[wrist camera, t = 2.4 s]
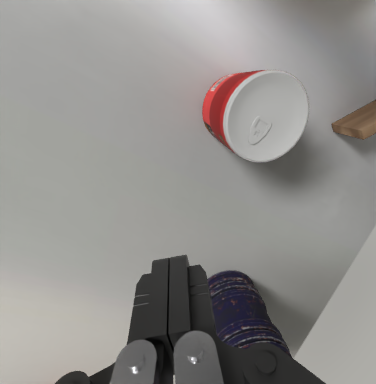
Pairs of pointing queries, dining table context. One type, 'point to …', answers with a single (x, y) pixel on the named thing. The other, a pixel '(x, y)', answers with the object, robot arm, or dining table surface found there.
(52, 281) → the dining table surface
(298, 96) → the canned food
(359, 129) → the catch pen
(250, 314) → the storage jar
